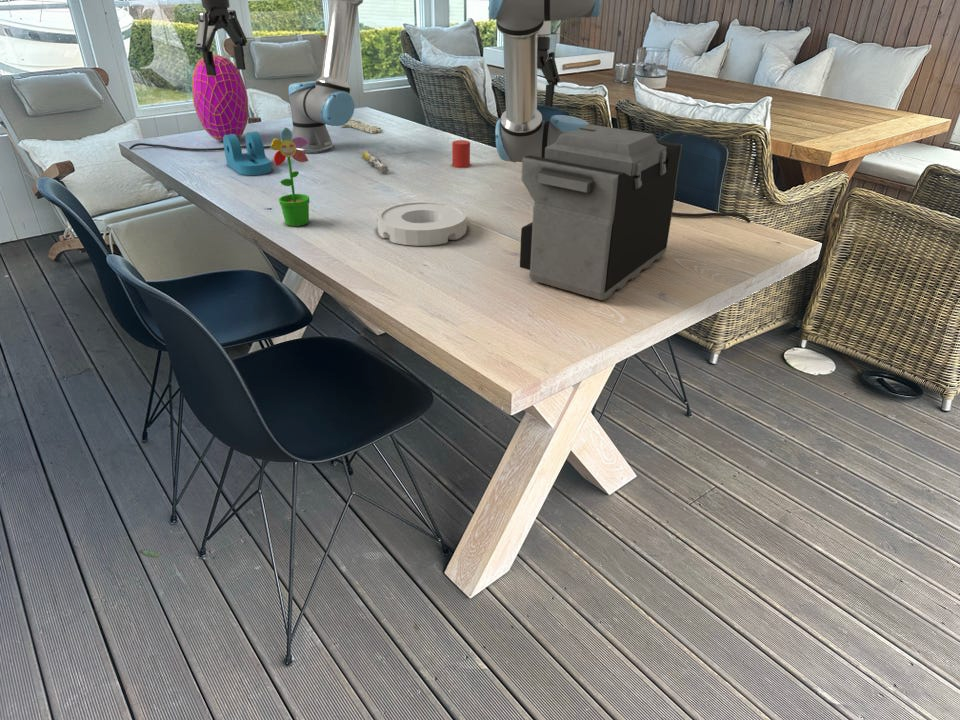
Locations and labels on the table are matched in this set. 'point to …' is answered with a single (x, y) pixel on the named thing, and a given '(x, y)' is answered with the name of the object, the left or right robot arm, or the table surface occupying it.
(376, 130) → the decorative sign
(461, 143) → the canister
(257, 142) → the camera mount
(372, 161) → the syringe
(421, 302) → the table surface
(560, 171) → the grey cooler box
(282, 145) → the potted flower
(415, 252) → the table surface
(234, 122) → the decorative egg
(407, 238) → the ashtray
